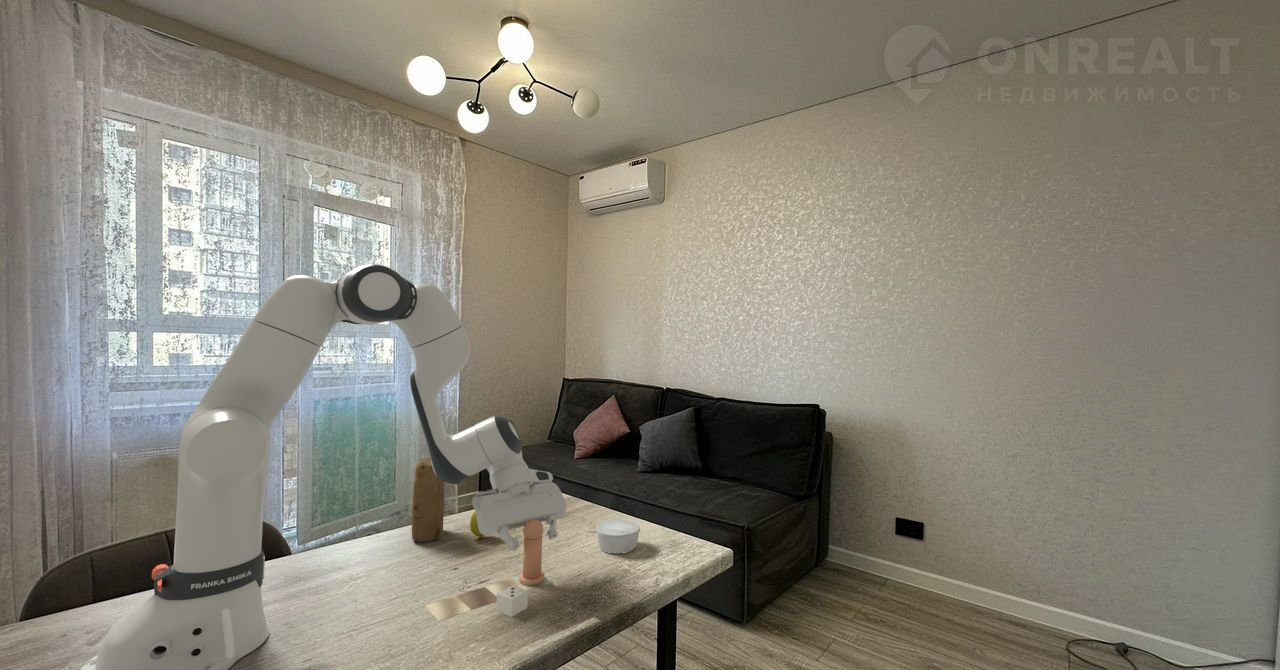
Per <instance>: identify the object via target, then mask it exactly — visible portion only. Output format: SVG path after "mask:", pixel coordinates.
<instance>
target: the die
mask: <svg viewBox="0 0 1280 670" xmlns="http://www.w3.org/2000/svg"><path fill="white" fill-rule="evenodd" d="M528 593H529V591H526V590H524V589H521V588H518V587H516V586H511V587H509V588H507V589H505V590H503V591H501V592H499V593H497V601H496V605H495V606H496V611H497V612H499V613H501V614H503V615H506V616H509V617H511V618H512V617H514V616H515V615H518V614H519V613H521V612H522V611H524V610H526V609H527V608H528V595H529V594H528Z"/></svg>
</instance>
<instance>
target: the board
mask: <svg viewBox="0 0 1280 670" xmlns="http://www.w3.org/2000/svg"><path fill="white" fill-rule="evenodd" d="M519 576H520V575H518V576H514V577H511V578H508V579H505V580H501V581H499V582H496V583H492V584H489V585H486V586H482V587H480V588H475V589H473V590H469V591H467V592H464V593H460V594H458V595H454V596H450V597H448V598H444V599H441V600H437V601H435V602H431V603H428V604H426V605H424V607H425V608H426V609H427V610H428V611H429V612H430V613H431V614H432V615H433V617H434V618H435V619H436V620H437V621H438V622H440V621H443V620H447V619H449V618H452V617H455V616H457V615H461V614H464V613H466V612H469V611H472V610H476V609H478V608H481V607H484V606H487V605H490V604H494V603H497V593H499V592H501V591H503V590H505V589H507V588H509V587H511V586H516V587H518V588H521V589H524V590H526V591H528V592H529V591H531V590H534V589H537V588H540V587H542V586H543V587H544V586H546V585H551V586H552V587H553V586H554V581H552V580H551V579H549V578H548V577H547V576H545V575H544V582H542V583H541V584H539V585H535V586H525V585H522V584H520V582H519Z"/></svg>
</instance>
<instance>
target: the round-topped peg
mask: <svg viewBox="0 0 1280 670" xmlns="http://www.w3.org/2000/svg"><path fill="white" fill-rule="evenodd" d="M542 523H543V522H540V521H538V520H530V521H528V522H527V523H526V524H525V526H523V531H522V532H523V536H524V537H523V556H522V557H523V559H522V560H523V561H522V562H523V563H522V572H521V573H520V574H519V575H518V576H519V582H520V584H522V585H525V586H535V585H539V584H541V583H542V582H544V576H545V573H544V572H543V571H542V561H543V560H542V556H543V533H544V526H543V524H542Z"/></svg>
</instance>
